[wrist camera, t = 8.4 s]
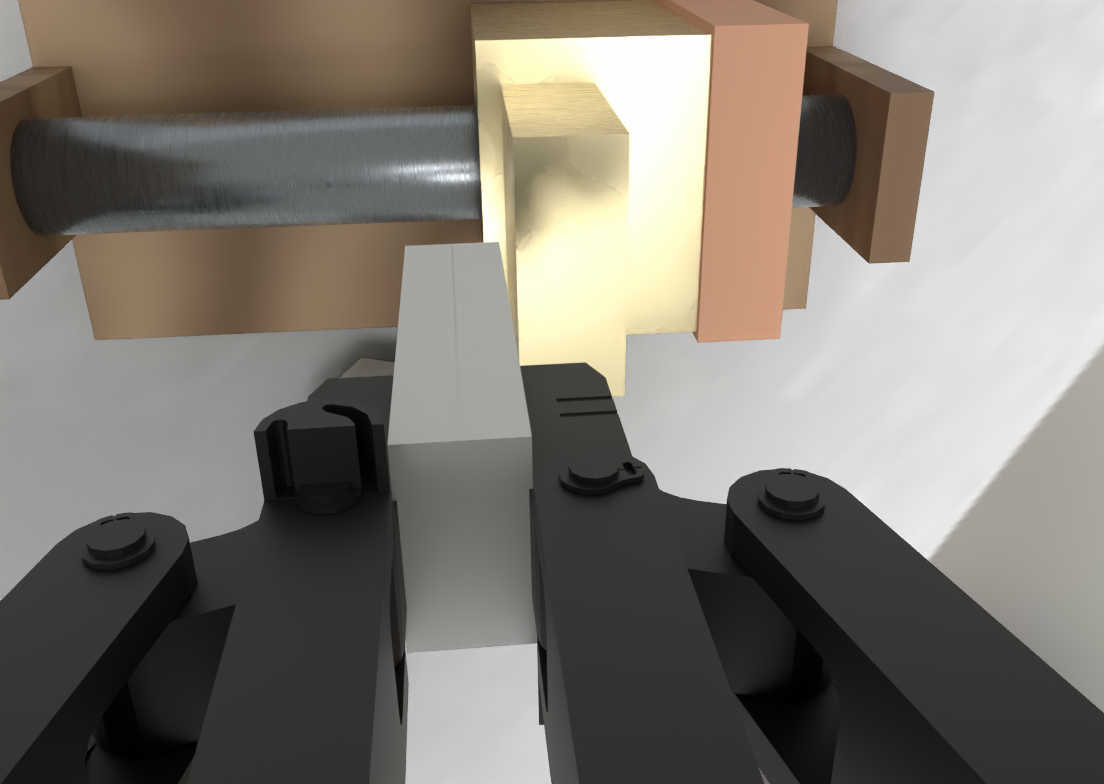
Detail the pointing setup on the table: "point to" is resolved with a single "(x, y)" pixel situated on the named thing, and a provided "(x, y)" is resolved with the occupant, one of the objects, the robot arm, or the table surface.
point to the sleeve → (592, 171)
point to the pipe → (306, 168)
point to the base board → (350, 83)
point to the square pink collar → (747, 164)
